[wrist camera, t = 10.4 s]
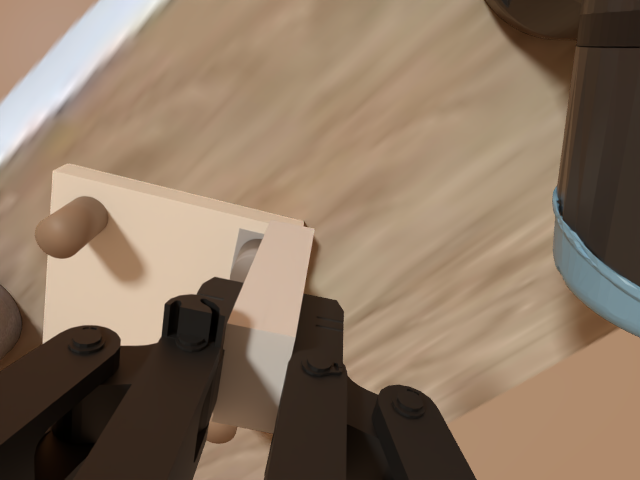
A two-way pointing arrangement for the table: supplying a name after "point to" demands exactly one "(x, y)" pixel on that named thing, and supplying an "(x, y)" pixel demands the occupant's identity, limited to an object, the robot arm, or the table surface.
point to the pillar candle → (8, 322)
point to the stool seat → (135, 253)
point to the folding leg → (245, 260)
